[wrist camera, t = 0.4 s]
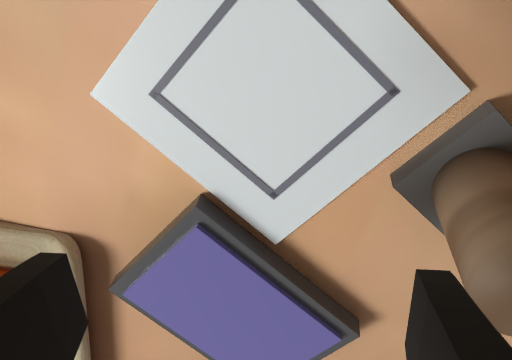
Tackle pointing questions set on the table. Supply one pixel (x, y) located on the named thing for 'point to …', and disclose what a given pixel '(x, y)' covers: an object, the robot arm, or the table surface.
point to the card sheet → (277, 97)
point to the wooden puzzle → (33, 242)
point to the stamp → (470, 204)
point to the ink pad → (231, 293)
